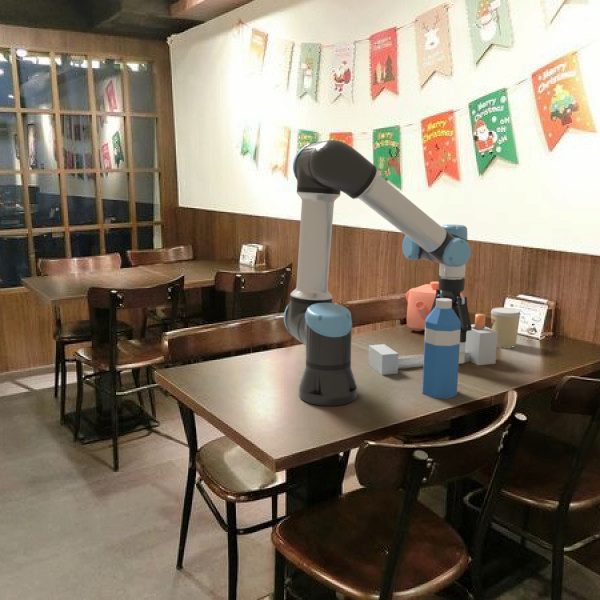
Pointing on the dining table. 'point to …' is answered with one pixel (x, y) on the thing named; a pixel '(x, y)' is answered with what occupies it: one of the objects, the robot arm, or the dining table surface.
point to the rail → (419, 360)
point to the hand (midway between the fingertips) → (448, 346)
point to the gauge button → (480, 321)
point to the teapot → (420, 304)
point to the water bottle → (441, 351)
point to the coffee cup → (505, 325)
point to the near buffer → (383, 359)
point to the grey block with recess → (481, 345)
